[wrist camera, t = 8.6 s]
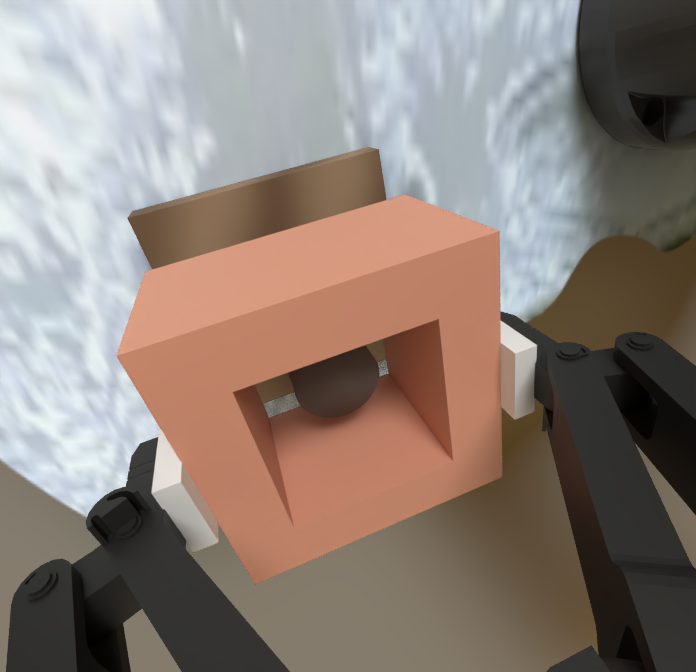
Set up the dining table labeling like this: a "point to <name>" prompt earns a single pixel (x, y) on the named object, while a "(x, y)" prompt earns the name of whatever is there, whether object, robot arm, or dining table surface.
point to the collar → (316, 345)
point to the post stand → (265, 219)
